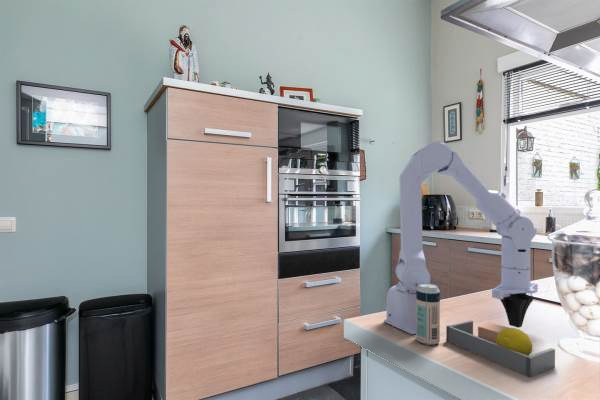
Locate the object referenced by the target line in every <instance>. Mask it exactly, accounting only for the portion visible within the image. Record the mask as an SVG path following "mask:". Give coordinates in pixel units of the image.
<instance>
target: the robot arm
mask: <svg viewBox="0 0 600 400" xmlns="http://www.w3.org/2000/svg"><path fill="white" fill-rule="evenodd" d="M435 172H436V174H438V175H443V176H449V177H451V178H453V179H454V180H455V181H456V182H457V183H458V184H460V186H462V188H464V189H465V190H466V191H467V192H468V193H469V194H470V195H471V196H473V198H474V199H476V203H475V205H476V208H477V210H479V211H480V213H482V214H483V215H484V216H485V217H486V219H488V220H489V221H490V222H491V223H492V224H493V225H494V226H495V229H496V233H497V234H498V235H499V236H501V246H500V247H501V255H500V256H501V259H500V261H501V264H500V266H501V269H500V272H501V275H500V276H501V277H500V279H501V280H500V281H501V282H500V284H499V285H498V286H496V287H495V288H492V289H491V297H492V298H494V299H498V300H500V302H501V304H502V305H503V308H504V310H505V315H506V317H507V321H508V325H509V326H511V327H513V328H516V329H519V328H522V326H523V323H524V320H525V317H526V313H527V310H528V309H529V307H530V305H531V304H532V302H533V301H534V296H532V295H529V294H536V293H538V283H533V282H531V245H532V240H533V239H534V238H535V237H536V235H537V231H538V229H537V228H536V227H534V223H533V222H532V220H531V219H530V218H528V217H526V216H521V213H522V212H521V211H520V209H518V208H515V207H514V206H513V205H512V204H511V203H510V202H509V201H508V200H507V199H506V198H507V195H506V194H505V193H504V192H499V191H498V190H489V189H488V188H487V186H485V185H484V184H485V183H483V182H482V181H481V180H480V178H479V177H478V176H477V175H476V174H475V173H474V172H473V171H472V170H471V169H470V167H469V166H468V165H467V164H466V163H465V162H464V161H463V160H462V158H461V157H460V155H459V153H458V152H456V150H453V149H451V147H450V145H448V144H447V143H446V142H443V141H440V140H434V141H431V142H430V143H428V144H426V145H425V146H424V147H422V148H420V149H418V150H417V151H416V152H415V153H413V154H412V155H411V157H410V159H409V161H408V162H407V163H406V165H405V167H404V168H403V170H402V172H401V173H400V175H399V213H400V214H399V216H400V217H399V219H400V223H399V224H400V226H399V227H400V250H399V253H398V262H397V264H396V267H395V271H394V272H395V275H396V278H397V279H398V280H399V281H398V282H397V284H395V285H393V286H391V287H390V288H389V289H388V291H387V294H386V318H385V319H383V322H384V323H385V324H388V325H390V326H392V327H394V328H397V329H399V330H401V331H404V332H405V333H407V334H409V335H416V288H417V287H418V284H431V275H430V273H429V271H428V268H427V264H426V261H427V260H426V256H425V253H424V249H423V248H424V247H423V245H424V244H423V209H422V208H423V206H422V205H423V203H422V184H423V182H425V181H426V180H427V179H428V178H429V177H430V176H431V175H432V174H433V173H435ZM527 294H528V295H527Z"/></svg>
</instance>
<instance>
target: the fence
mask: <svg viewBox="0 0 600 400" xmlns="http://www.w3.org/2000/svg"><path fill="white" fill-rule="evenodd" d="M445 338H446V340H445V341H446V342H448V343H451V344H452V345H455V346H457V347H460V348H461V349H464V350H467V351H469V352H471V353H474V354H476V355H478V356H480V357H482V358H485V359H488V360H490V361H492V362H494V363H497V364H500V365H501V366H504V367H506V368H508V369H511V370H513V371H515V372H518V373H520V374H522V375H525V376H527V377H529V378H531V377H532V376H535V375H538V374H541V373H544V372H545V371H548V370H551V369H553V368H555V367H556V349H555V348H552V347H550V348H547V349H543V350H542V351H539V352H536V353H533V354H530V355H529V356H527V355H524V354H522V353H519V352H516V351H514V350H511V349H509V348H506V347H503V346H501V345H498V344H497V343H496V342H494V341H491V340H488V339H485V338H482V337H479V336H478V335H475V334H474V321H473V320H467V321H466V320H465V321H463V322H458V323H453V324H450V325H446V335H445Z"/></svg>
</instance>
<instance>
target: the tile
mask: <svg viewBox="0 0 600 400" xmlns="http://www.w3.org/2000/svg"><path fill="white" fill-rule="evenodd" d="M506 328H509V327H508V326H506V325H505V326H504V325H501V324H497V323H494V322H491V321H489V322H486V323H483V324H481V325H479V326H477V337H480V338H482V339H485V340H488V341H490V342H493V343H497V340H496V339H497V335H498V333H499V332H500V331H501V330H503V329H506Z"/></svg>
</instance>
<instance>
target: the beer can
mask: <svg viewBox="0 0 600 400" xmlns="http://www.w3.org/2000/svg"><path fill="white" fill-rule="evenodd" d="M440 321H441V290H440V289H439V287H438V285H436V284H432V283H430V284H418V287H417V288H416V334H415V339H416V340H417V341H418V342H419V343H420V344H422V345H427V346H435V345H438V344H439V343H440V339H441V337H440V335H441V333H440V331H441V329H440V328H441V325H440V324H441V322H440Z"/></svg>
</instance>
